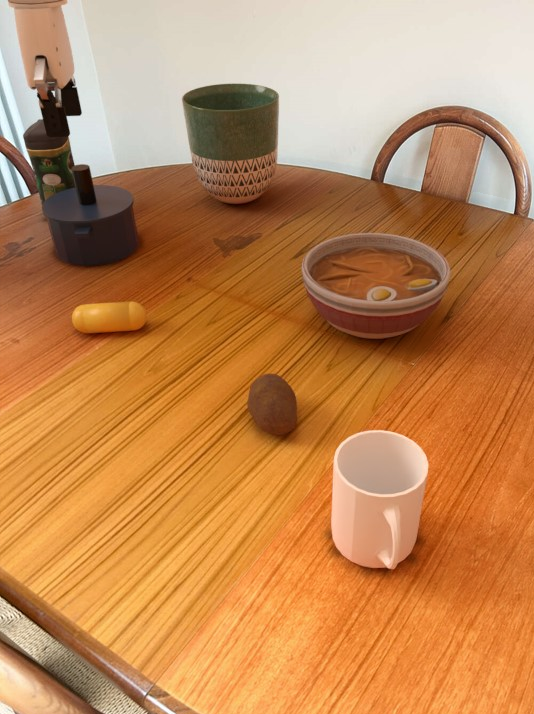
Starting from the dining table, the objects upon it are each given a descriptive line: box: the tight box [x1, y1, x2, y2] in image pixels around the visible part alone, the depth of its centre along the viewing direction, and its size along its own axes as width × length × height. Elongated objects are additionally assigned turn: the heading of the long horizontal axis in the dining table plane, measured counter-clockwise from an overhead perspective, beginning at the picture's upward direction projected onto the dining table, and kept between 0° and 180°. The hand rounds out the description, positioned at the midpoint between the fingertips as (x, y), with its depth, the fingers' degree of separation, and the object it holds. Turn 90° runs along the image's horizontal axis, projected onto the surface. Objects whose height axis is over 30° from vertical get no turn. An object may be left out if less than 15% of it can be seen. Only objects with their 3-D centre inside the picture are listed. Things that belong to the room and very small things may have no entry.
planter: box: [181, 83, 280, 205], centre depth 139 cm, size 20×20×21 cm
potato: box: [246, 373, 298, 436], centre depth 86 cm, size 7×10×6 cm
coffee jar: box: [22, 118, 76, 205], centre depth 134 cm, size 10×8×19 cm
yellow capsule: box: [71, 301, 148, 334], centre depth 104 cm, size 12×5×5 cm, turn 96°
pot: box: [45, 204, 139, 267], centre depth 125 cm, size 16×21×8 cm
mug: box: [330, 429, 429, 570], centre depth 68 cm, size 10×12×12 cm
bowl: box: [301, 232, 452, 340], centre depth 104 cm, size 23×23×10 cm
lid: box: [41, 163, 135, 224], centre depth 120 cm, size 17×17×8 cm
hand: (65, 125), depth 98 cm, fingers open, 9 cm apart
